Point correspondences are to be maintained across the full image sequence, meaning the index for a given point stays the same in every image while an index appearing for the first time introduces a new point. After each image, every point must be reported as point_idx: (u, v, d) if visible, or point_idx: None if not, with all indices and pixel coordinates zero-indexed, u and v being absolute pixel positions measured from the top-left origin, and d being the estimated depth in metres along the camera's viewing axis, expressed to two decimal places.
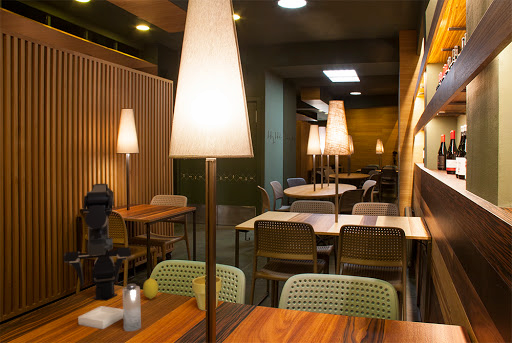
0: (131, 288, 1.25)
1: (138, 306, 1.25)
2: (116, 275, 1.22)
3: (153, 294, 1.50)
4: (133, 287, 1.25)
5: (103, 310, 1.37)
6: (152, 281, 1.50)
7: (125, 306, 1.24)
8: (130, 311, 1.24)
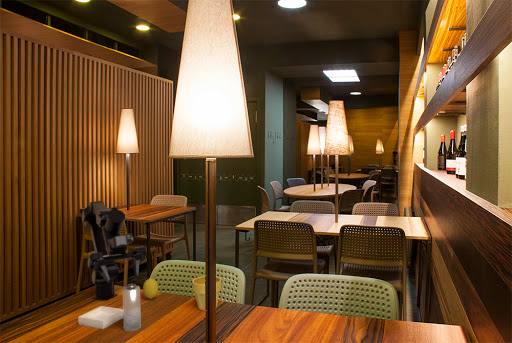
0: (131, 288, 1.25)
1: (138, 306, 1.25)
2: (137, 269, 1.36)
3: (153, 294, 1.50)
4: (133, 287, 1.25)
5: (103, 310, 1.37)
6: (152, 281, 1.50)
7: (125, 306, 1.24)
8: (130, 311, 1.24)
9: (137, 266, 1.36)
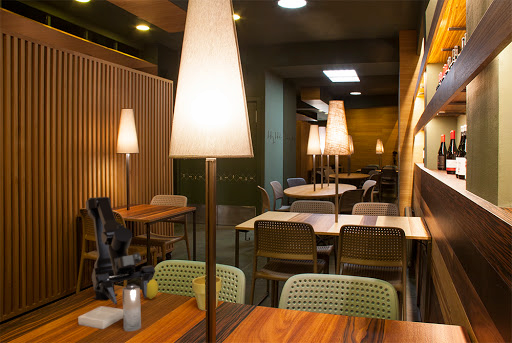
0: (131, 288, 1.25)
1: (138, 306, 1.25)
2: (145, 290, 1.30)
3: (153, 294, 1.50)
4: (133, 287, 1.25)
5: (103, 310, 1.37)
6: (152, 281, 1.50)
7: (125, 306, 1.24)
8: (130, 311, 1.24)
9: (145, 287, 1.31)
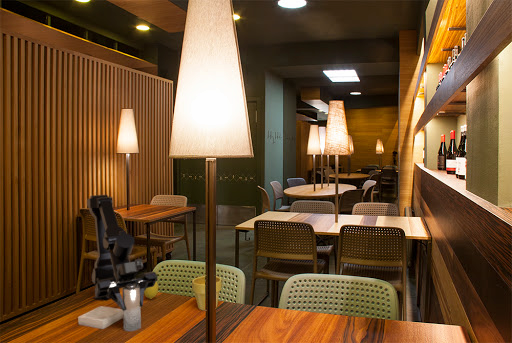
0: (131, 288, 1.25)
1: (138, 306, 1.25)
2: (142, 298, 1.27)
3: (153, 294, 1.50)
4: (133, 287, 1.25)
5: (103, 310, 1.37)
6: None
7: (125, 306, 1.24)
8: (130, 311, 1.24)
9: (141, 295, 1.28)
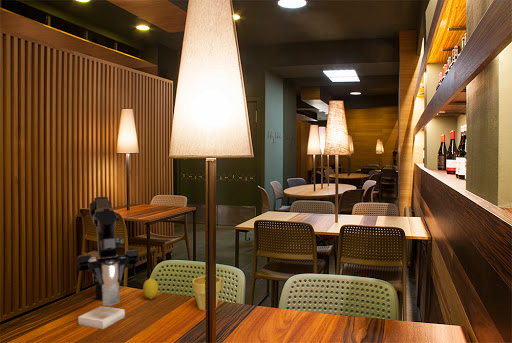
0: (109, 264, 1.28)
1: (115, 282, 1.28)
2: (120, 275, 1.30)
3: (153, 294, 1.50)
4: (111, 263, 1.28)
5: (103, 310, 1.37)
6: (152, 281, 1.50)
7: (102, 281, 1.27)
8: (107, 286, 1.27)
9: (120, 271, 1.31)
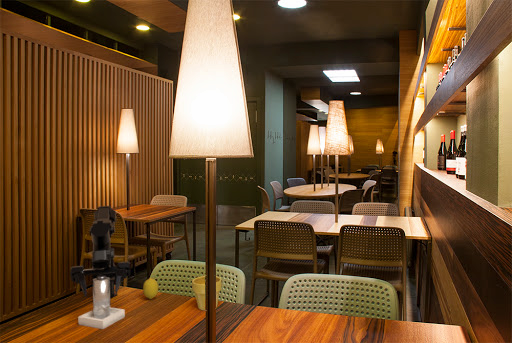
0: (100, 279, 1.31)
1: (106, 297, 1.31)
2: (117, 286, 1.33)
3: (153, 294, 1.50)
4: (102, 278, 1.31)
5: None
6: (152, 281, 1.50)
7: (93, 296, 1.31)
8: (97, 301, 1.30)
9: (117, 282, 1.33)
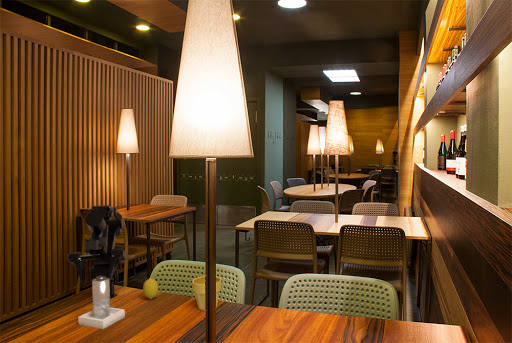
0: (99, 280, 1.31)
1: (105, 297, 1.31)
2: (110, 272, 1.39)
3: (153, 294, 1.50)
4: (101, 279, 1.31)
5: None
6: (152, 281, 1.50)
7: (93, 296, 1.30)
8: (97, 302, 1.30)
9: (111, 269, 1.39)
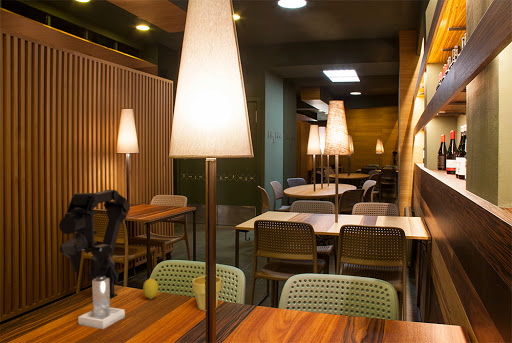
0: (99, 280, 1.31)
1: (105, 297, 1.31)
2: (95, 269, 1.39)
3: (153, 294, 1.50)
4: (101, 279, 1.31)
5: None
6: (152, 281, 1.50)
7: (93, 296, 1.30)
8: (97, 302, 1.30)
9: (95, 266, 1.39)
